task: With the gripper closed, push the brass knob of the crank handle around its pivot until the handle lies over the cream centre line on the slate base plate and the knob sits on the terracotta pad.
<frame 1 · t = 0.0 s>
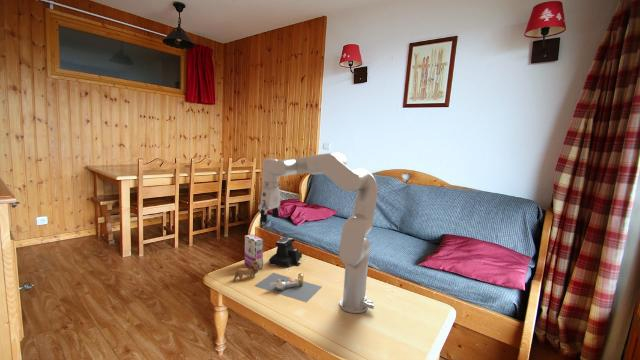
hand: (269, 219, 152), 31 cm above the table, tool pointing down, fingers open, 9 cm apart
crank handle: (286, 281, 148), point 4 cm above the table, hinge at -40.0°
lion figurine: (247, 280, 156), on the table
camera: (288, 262, 180), on the table
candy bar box: (253, 266, 172), on the table
base plate: (288, 288, 150), on the table
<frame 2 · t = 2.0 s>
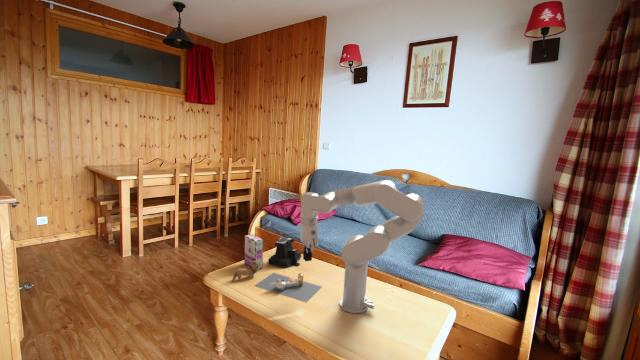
hand: (307, 259, 142), 17 cm above the table, tool pointing down, fingers closed
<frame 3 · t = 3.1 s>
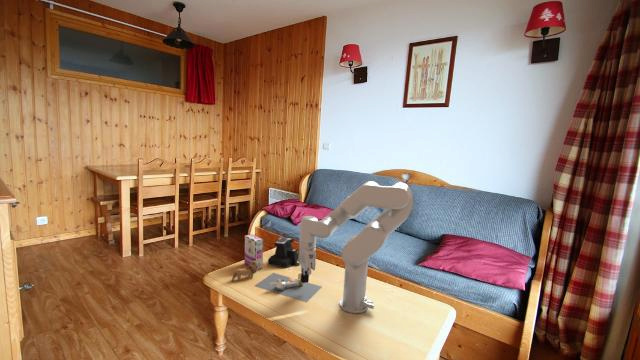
hand: (304, 281, 144), 6 cm above the table, tool pointing down, fingers closed
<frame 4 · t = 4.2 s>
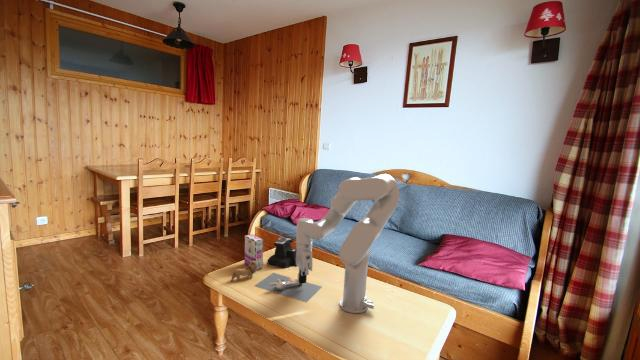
hand: (302, 282, 148), 4 cm above the table, tool pointing down, fingers closed
crank handle: (286, 281, 148), point 4 cm above the table, hinge at -36.9°, touching gripper
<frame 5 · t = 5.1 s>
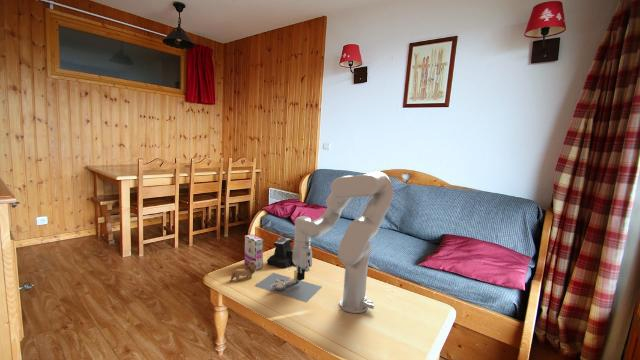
hand: (300, 279, 151), 4 cm above the table, tool pointing down, fingers closed
crank handle: (285, 280, 149), point 4 cm above the table, hinge at -18.8°, touching gripper
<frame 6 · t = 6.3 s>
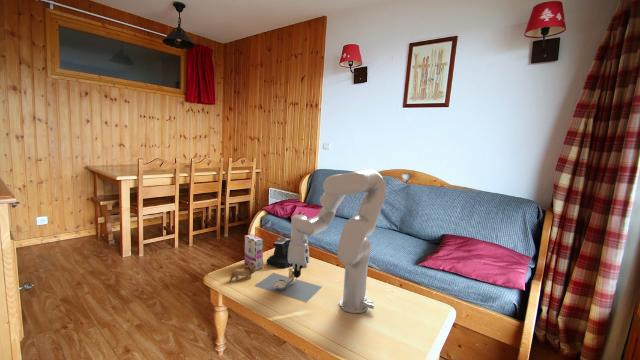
hand: (297, 276, 154), 4 cm above the table, tool pointing down, fingers closed
crank handle: (283, 280, 149), point 4 cm above the table, hinge at 0.5°, touching gripper
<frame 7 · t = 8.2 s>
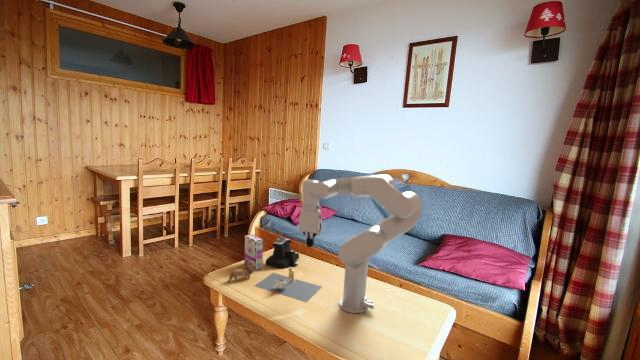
hand: (310, 246, 145), 22 cm above the table, tool pointing down, fingers closed
crank handle: (283, 280, 149), point 4 cm above the table, hinge at 0.6°
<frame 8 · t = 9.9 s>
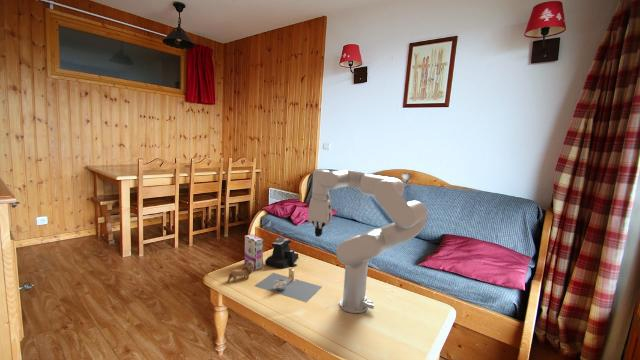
hand: (318, 235, 145), 27 cm above the table, tool pointing down, fingers closed
at the end: crank handle at +1° (first picture: -40°) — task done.
